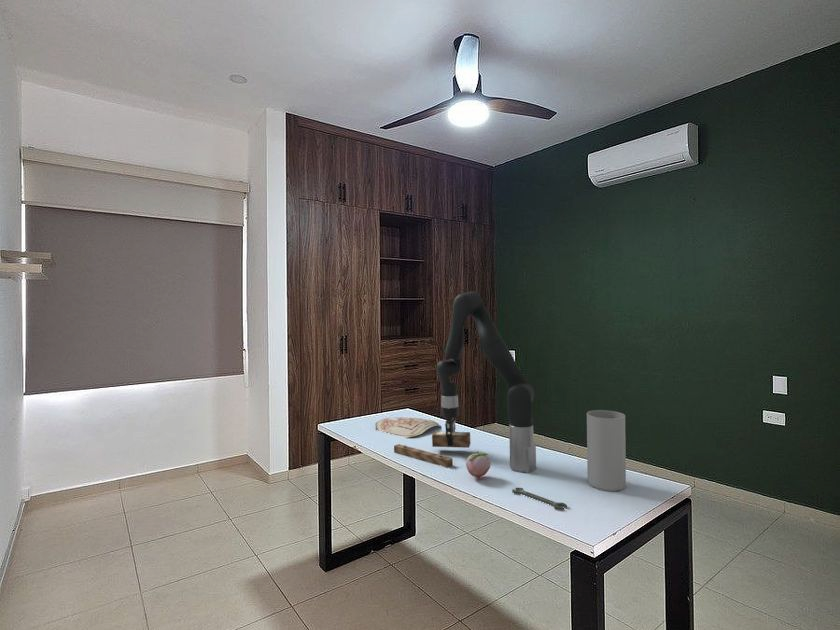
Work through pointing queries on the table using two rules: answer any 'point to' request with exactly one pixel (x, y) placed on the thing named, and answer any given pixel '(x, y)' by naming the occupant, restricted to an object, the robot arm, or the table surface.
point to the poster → (404, 426)
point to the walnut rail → (423, 455)
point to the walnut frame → (458, 439)
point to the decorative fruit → (478, 464)
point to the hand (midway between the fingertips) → (451, 443)
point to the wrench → (540, 499)
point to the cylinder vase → (606, 450)
